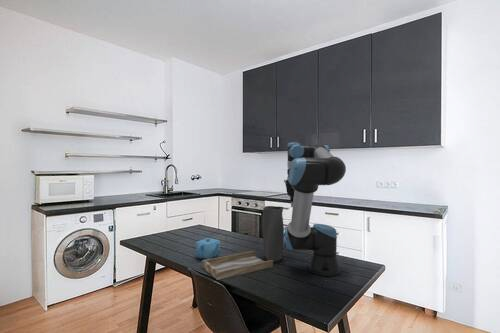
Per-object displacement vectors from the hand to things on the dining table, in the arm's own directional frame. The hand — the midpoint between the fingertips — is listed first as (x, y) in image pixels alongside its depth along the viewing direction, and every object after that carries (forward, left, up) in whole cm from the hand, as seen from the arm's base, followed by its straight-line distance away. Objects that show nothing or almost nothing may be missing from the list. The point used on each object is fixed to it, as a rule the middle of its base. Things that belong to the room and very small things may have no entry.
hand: (293, 207), depth 164 cm
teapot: (+21, +46, -29) cm, 58 cm away
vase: (0, +15, -29) cm, 33 cm away
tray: (0, +38, -29) cm, 48 cm away
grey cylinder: (+21, -4, -29) cm, 36 cm away
